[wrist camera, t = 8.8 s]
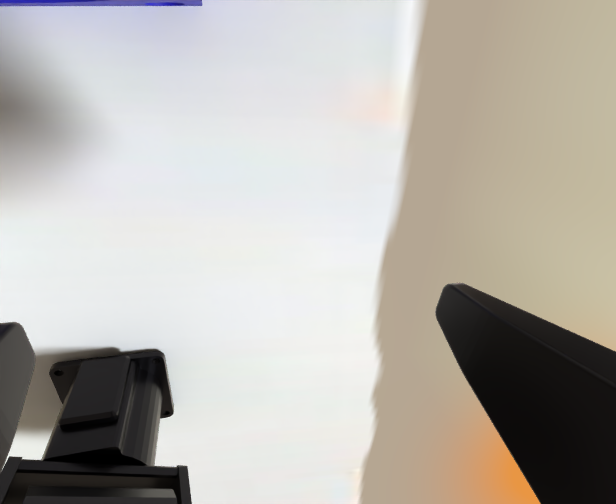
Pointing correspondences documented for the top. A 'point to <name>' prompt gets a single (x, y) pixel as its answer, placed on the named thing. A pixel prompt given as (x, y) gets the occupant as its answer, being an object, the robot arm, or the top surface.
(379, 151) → the top surface
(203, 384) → the top surface
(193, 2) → the cable clip
